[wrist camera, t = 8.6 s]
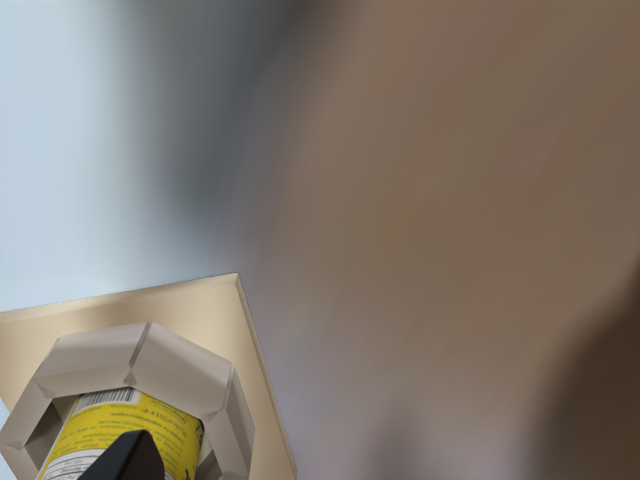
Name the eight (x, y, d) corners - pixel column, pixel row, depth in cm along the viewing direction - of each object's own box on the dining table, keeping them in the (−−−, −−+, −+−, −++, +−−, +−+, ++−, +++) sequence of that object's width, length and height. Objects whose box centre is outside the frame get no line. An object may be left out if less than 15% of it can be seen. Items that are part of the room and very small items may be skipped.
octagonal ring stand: (237, 272, 22) (225, 322, 19) (296, 470, 27) (294, 534, 24) (-28, 317, 23) (-79, 371, 20) (76, 500, 28) (47, 566, 25)
